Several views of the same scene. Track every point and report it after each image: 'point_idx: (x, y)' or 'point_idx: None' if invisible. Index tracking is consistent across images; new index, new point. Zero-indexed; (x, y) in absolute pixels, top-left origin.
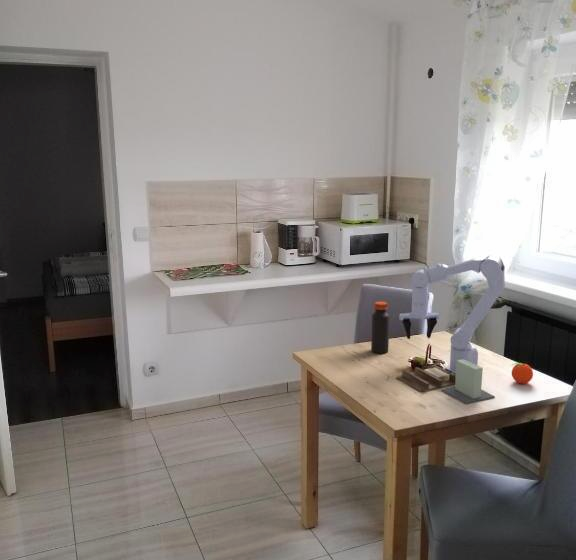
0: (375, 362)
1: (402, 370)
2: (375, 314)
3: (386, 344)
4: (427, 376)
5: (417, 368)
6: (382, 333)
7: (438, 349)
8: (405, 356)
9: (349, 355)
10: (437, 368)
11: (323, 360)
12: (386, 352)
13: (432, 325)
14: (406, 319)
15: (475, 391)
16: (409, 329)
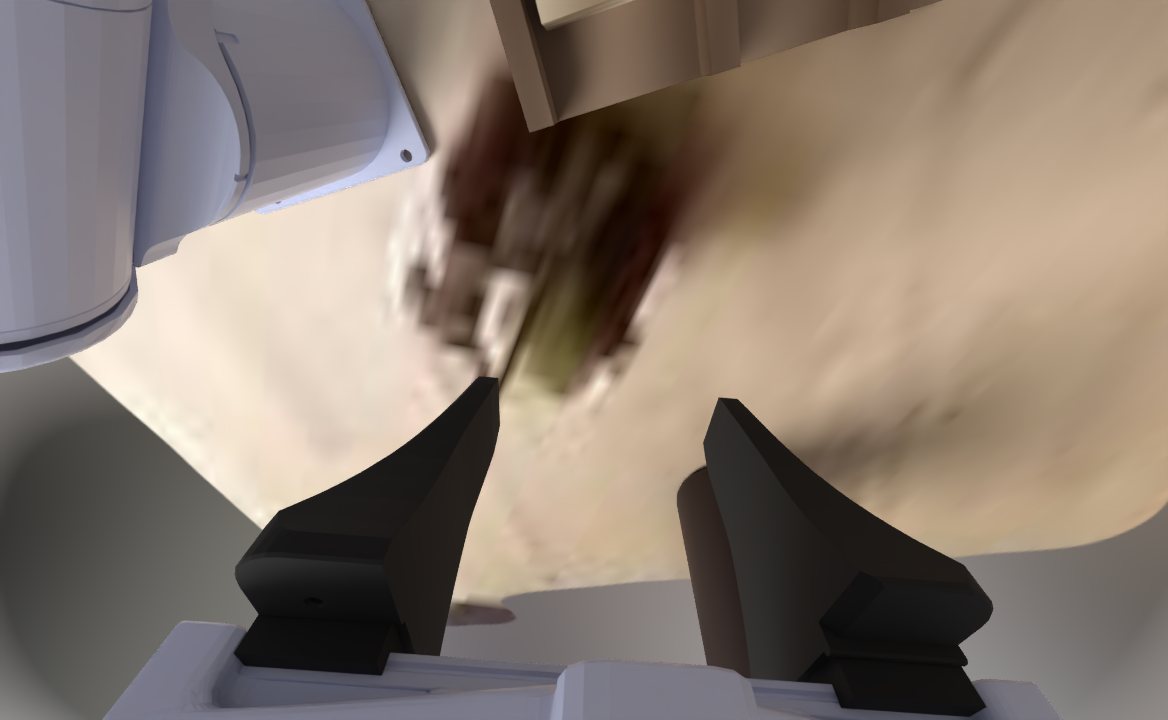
0: (849, 363)
1: (907, 10)
2: None
3: (716, 509)
4: None
5: (733, 27)
6: None
7: None
8: (619, 413)
9: (911, 474)
10: (522, 2)
11: (1108, 441)
12: (702, 470)
13: (391, 488)
14: (913, 691)
15: None
16: (790, 481)
